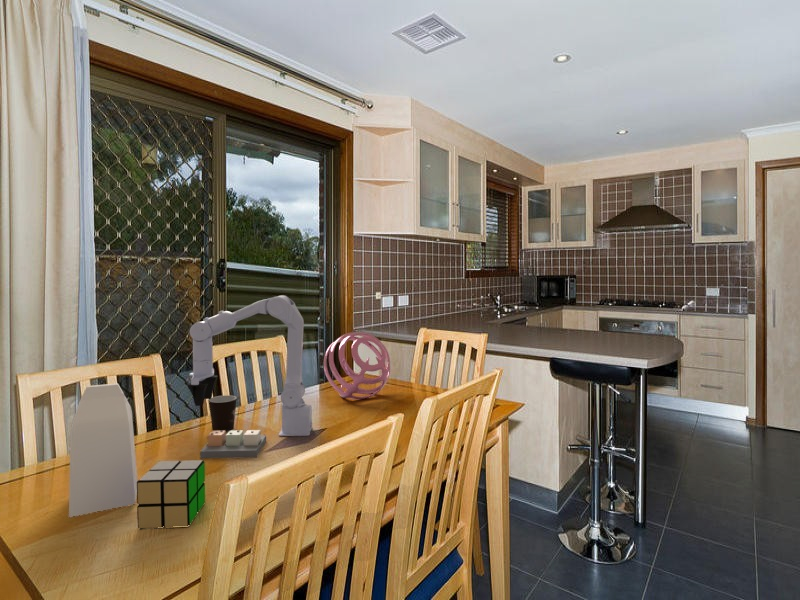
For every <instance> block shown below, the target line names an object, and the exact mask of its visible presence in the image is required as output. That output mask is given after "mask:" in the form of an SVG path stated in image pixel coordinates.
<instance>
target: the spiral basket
mask: <svg viewBox="0 0 800 600" xmlns="http://www.w3.org/2000/svg"><path fill="white" fill-rule="evenodd" d="M357 336H360V337H357ZM349 341H353V343H352V344H351V349H350V351H351V357H352V359H353V361H354V363H355V364H356V365H357V367H359V368H360V371H359V373H357V372H355V371H354V370H353V369H352V368H351V367H350V365H349V364H348V362H347V359H346V355H345V348H346V345H347V343H348V342H349ZM338 343H340V344H339V347H338V360H339V364H340V366H341V368H342V369H343V371H344V372H345V374H346V375H347V376H349V378H351V379H352V380H353V382H349V383H348V382H347V381H346V380H345V379H344V378H343V377H342V376H341V375H340V374H339V372H338V369H337V367H336V365H335V361H334V353H335V348H336V346H337V344H338ZM361 344H362V345H364V346H366V347H368V348H369V349H370V350H371V351H372V352H373V353H374V354H375V355H376V356H375V359H376V361H377V363H376V364H370V362H369V361H370V357H368V358H367V359H366V361H364V360H363V359H362V358H361V357H360V355H359V351H358V350H359V346H360V345H361ZM373 344H375V345H376V346H377V347H378V348H377V347H376V346H374V345H373ZM378 349H379V350H380V351H379V350H378ZM327 359H328V360H327ZM327 361H328V362H327ZM327 363H329V368H330V371H331V373H332V376H333V377H334V379H335V380H337V382H338V383H339V384H340V387H339V386H338V385H337V384H336V383H335V382H334V380H333V379H332V377H331V376H330V373H329V370H328V364H327ZM386 364H387V365H386ZM323 370H324V374H325V376H326V379H327V381H328V382H329V384H330V385H331V387H333V388H334V390H335V391H337V393H338V394H339V396H340V397H341V398H343V399H353V400H366V399H365V398H367V399H370V398H372V397H374V396H375V395H376V394H378V393H379V392H380V391H382V389H383V388H384V387H385V385H386V384H387V382H388V380H389V377H390V374H391V358H390V353H389V351H388V349H387V348H386V346H385V344H384V343H383V342H382V341H381V340H380V339H379V338H377V337H376V336H374V335H373V334H369V333H368V332H367V333H366V332H358V331H357V332H355V331H353V332H347V333H345V334H342V335H340V336H339V337H338V338H336V339H335V340H334V341H333V342H331V344H330V345H329V346H328V347H327V349H326V351H325V354H324V357H323ZM379 370H381V375H379V376H377V377H374V378H373V377H371V378H368V377H366V376H365V373H367V372H371V373H372V372H373V373H374V372H378V371H379ZM378 383H380V384H379V386H377V387H375V388H371V389H370V388H369V389H365V388H363V387H359V386H360V385H361V384H362V385H376V384H378ZM344 389H346V391H345V390H344ZM371 393H373V394H371ZM353 394H358V395H365V396H357V395H353ZM369 397H370V398H369Z"/></svg>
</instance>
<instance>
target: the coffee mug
mask: <svg viewBox="0 0 800 600" xmlns="http://www.w3.org/2000/svg"><path fill="white" fill-rule="evenodd" d="M237 398H238V397H237V396H235V395H225V394H224V395H218V396H212V398H211V399H207V401H208V408H209V414H210V419H211V420H210V421H211V428H212V431H226V433H228V432H229V431H230V430H234V427H235V419H236V410H237V409H236V407H237Z"/></svg>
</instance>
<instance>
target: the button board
mask: <svg viewBox="0 0 800 600" xmlns="http://www.w3.org/2000/svg"><path fill="white" fill-rule="evenodd" d="M266 443H267V434H261V442H260V443H259V445H250V446H244V434H243V443H242V444H241V445H240V446H226V442H225V443H224V445H223V446H208V442H207V443H206V444H205V445H204V447H203V448H202V449H201V450H200V451H199V455H200V456H199V458H200V459H236V458H237V459H239V458H243V459H244V458H247V459H248V458H251V459H252V458H257V457H258V455H260V452H261V451H262V449H263V447H264V446H265V444H266Z"/></svg>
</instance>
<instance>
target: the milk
mask: <svg viewBox="0 0 800 600" xmlns="http://www.w3.org/2000/svg"><path fill="white" fill-rule="evenodd" d="M69 441H70V445H69V448H70V449H69V450H70V451H69V485H68V486H69V492H68V493H69V494H68V495H69V496H68V518H69V517H70V518H74V517H73V516H75V517H80V516H84V515H83V514H85V515H88V513H90V514H93V513H92V512H96V513H98V512H97V511H101V512H104V511H103V510H106V511H108V510H107V509H111V510H113V509H112V508H116V509H118V508H117V507H121V508H123V507H122V506H126V507H129V506H128V505H131V506H134V505H133V504H135V505H136V503H137V481H138V470H137V459H136V446H135V445H136V444H135V433H134V422H133V412H132V406H131V404H130V403H129V400H128V399H127V397H126V396H125V393H124V391H123V390H122V388H121V386H120V384H119V383H118V382H117V383H107V384H104V383H103V384H95V385H93V384H92V385H87V386H86V387H85V389H84V392H83V393H82V395H81V398H80V399H79V402H78V405H77V408H76V412H75V414H74V417H73V419H72V423H71V428H70V440H69ZM135 502H136V503H135ZM79 515H80V516H79Z"/></svg>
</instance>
